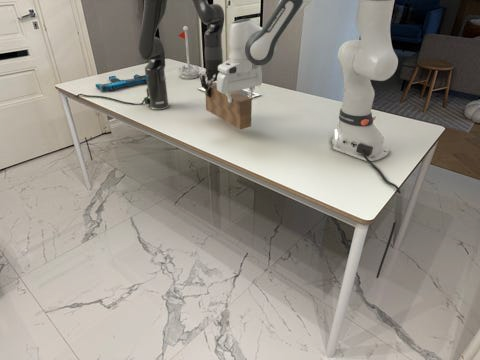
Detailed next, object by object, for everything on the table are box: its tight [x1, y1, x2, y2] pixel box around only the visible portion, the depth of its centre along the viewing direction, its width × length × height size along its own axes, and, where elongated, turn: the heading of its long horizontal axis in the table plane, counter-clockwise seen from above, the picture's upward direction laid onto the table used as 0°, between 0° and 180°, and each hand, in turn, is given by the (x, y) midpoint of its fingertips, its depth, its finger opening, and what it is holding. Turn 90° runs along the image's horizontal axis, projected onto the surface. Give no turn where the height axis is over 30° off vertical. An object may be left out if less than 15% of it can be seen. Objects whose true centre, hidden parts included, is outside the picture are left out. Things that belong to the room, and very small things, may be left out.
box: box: [204, 82, 253, 131], centre depth 148 cm, size 27×6×12 cm, turn 36°
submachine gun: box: [94, 74, 147, 92], centre depth 207 cm, size 34×4×25 cm
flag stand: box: [177, 25, 200, 80], centre depth 211 cm, size 13×13×30 cm
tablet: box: [197, 86, 262, 99], centre depth 193 cm, size 32×20×1 cm, turn 41°
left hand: (215, 95), depth 153 cm, fingers closed on box, 5 cm apart
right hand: (240, 99), depth 138 cm, fingers open, 8 cm apart
